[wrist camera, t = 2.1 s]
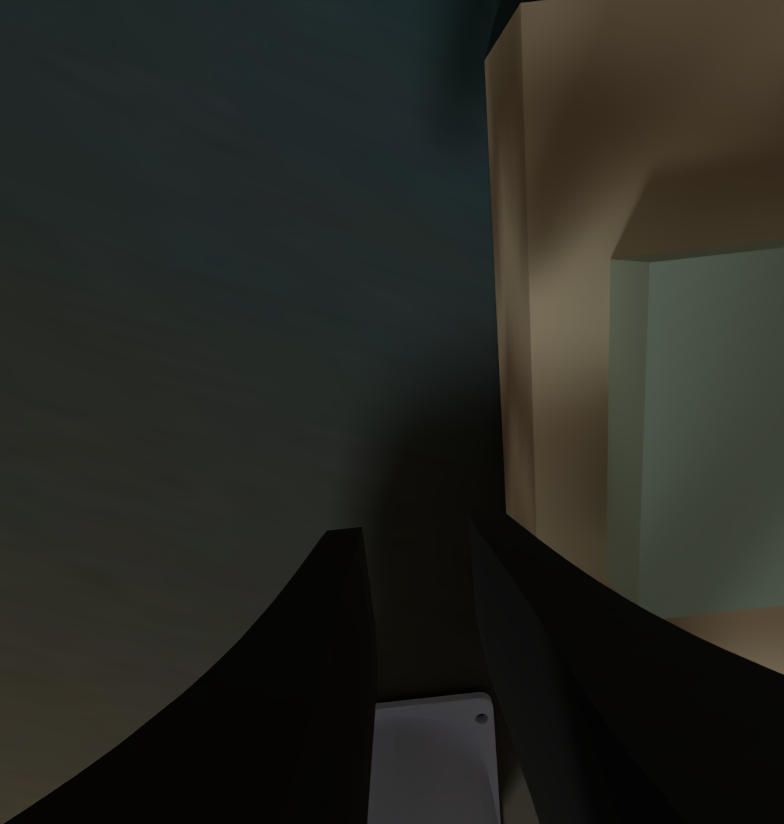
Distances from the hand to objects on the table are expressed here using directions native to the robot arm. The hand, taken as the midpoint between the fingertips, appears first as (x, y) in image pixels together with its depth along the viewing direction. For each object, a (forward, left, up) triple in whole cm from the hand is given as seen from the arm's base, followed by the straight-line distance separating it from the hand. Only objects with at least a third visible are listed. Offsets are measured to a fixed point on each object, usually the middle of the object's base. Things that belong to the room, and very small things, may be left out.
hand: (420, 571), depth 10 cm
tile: (0, -8, -5) cm, 10 cm away
